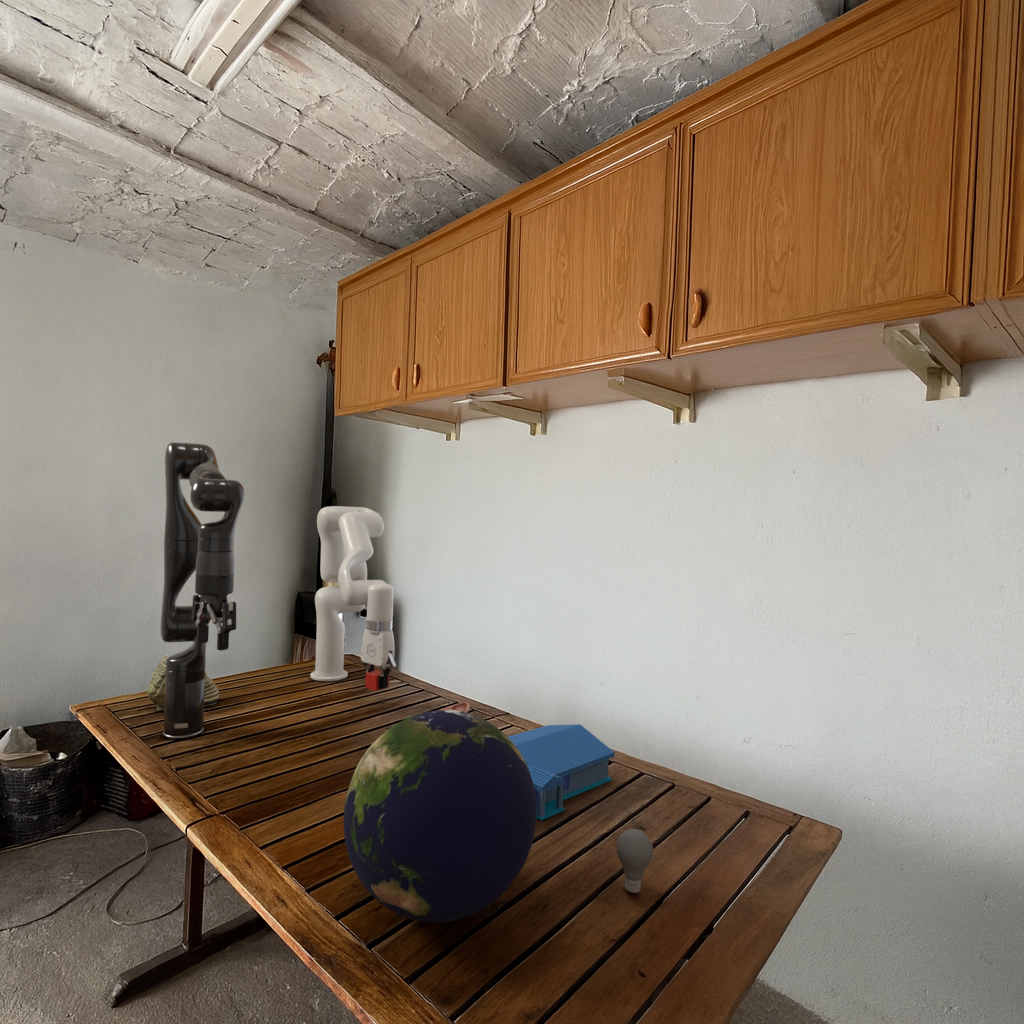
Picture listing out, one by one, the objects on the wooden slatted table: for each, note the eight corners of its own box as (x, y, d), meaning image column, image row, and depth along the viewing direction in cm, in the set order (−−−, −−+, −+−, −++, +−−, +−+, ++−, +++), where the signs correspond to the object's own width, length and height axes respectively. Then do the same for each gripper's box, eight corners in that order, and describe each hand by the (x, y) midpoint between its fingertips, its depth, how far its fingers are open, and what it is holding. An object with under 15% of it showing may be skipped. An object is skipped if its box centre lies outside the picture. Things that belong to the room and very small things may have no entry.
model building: (493, 841, 119) (496, 788, 119) (420, 792, 137) (422, 747, 137) (623, 784, 145) (625, 741, 145) (547, 750, 164) (548, 712, 163)
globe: (296, 934, 92) (304, 728, 91) (406, 836, 119) (412, 678, 119) (484, 1004, 80) (494, 770, 80) (557, 878, 108) (565, 703, 108)
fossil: (144, 707, 182) (145, 655, 182) (212, 696, 194) (213, 647, 194) (151, 716, 175) (153, 662, 175) (221, 703, 188) (223, 653, 188)
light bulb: (610, 879, 108) (613, 822, 108) (644, 879, 109) (647, 822, 109) (619, 902, 102) (622, 840, 102) (655, 901, 103) (658, 840, 103)
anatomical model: (417, 708, 179) (430, 696, 190) (416, 722, 179) (430, 710, 191) (462, 714, 177) (473, 701, 188) (461, 728, 177) (472, 715, 188)
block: (365, 687, 187) (365, 672, 187) (378, 684, 192) (378, 669, 192) (375, 691, 185) (376, 675, 185) (388, 687, 189) (389, 672, 189)
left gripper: (181, 569, 138) (178, 643, 138) (215, 576, 129) (212, 655, 130) (215, 567, 144) (212, 638, 144) (249, 573, 135) (246, 649, 136)
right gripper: (350, 623, 190) (348, 683, 190) (390, 631, 180) (387, 695, 180) (369, 619, 196) (367, 678, 196) (408, 628, 186) (406, 689, 186)
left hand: (212, 646), depth 137 cm, fingers open, 8 cm apart
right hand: (377, 686), depth 188 cm, fingers closed on block, 4 cm apart
